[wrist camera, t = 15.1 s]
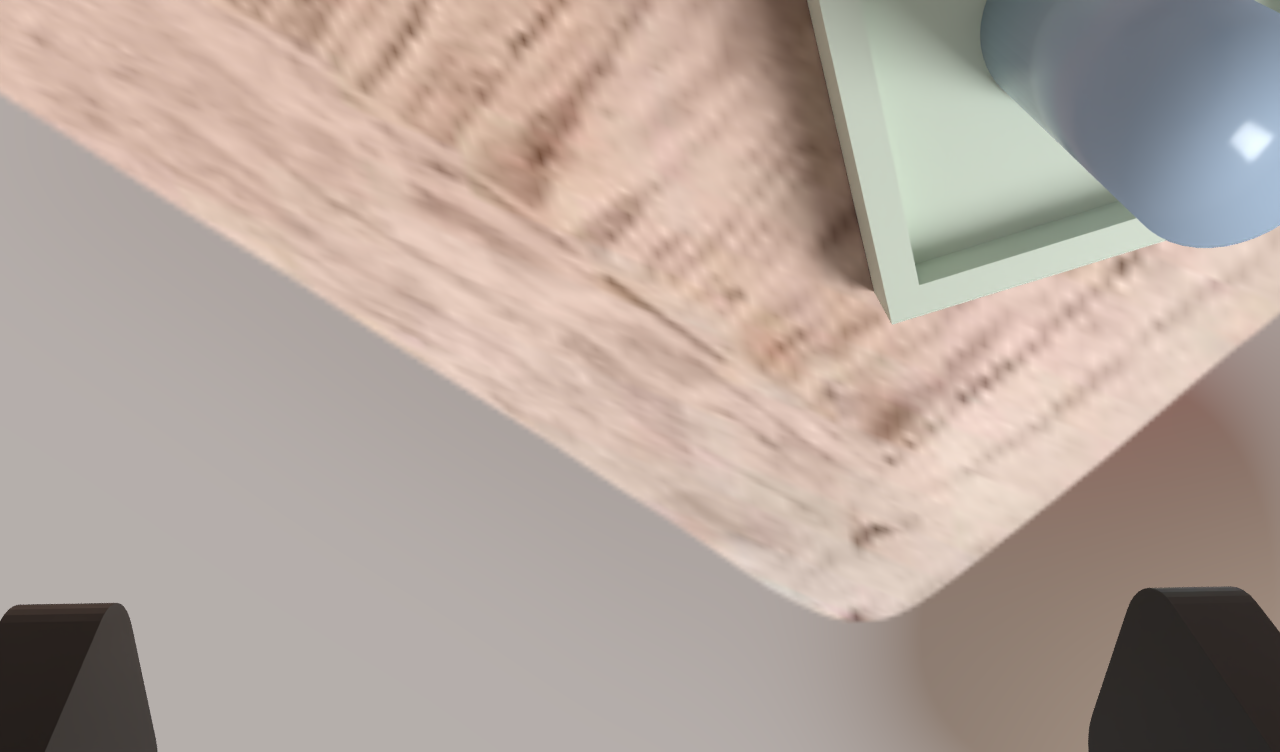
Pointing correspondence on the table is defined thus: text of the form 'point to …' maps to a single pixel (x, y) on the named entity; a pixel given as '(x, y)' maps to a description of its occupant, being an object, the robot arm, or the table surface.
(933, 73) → the sage tray
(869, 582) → the table surface
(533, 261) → the table surface
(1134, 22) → the dome-topped blue cylinder
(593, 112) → the table surface
